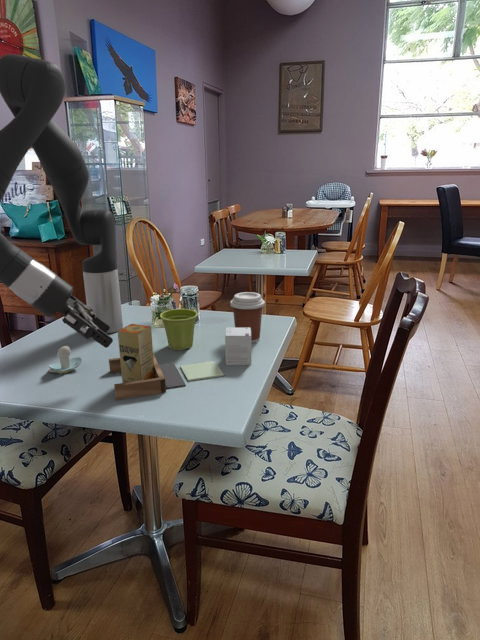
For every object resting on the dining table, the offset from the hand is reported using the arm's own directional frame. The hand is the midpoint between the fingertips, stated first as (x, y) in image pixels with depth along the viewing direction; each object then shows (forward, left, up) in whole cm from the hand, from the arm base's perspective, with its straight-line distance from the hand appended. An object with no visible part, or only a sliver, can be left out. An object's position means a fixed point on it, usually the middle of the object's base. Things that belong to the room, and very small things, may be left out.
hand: (108, 337), depth 100 cm
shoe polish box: (0, +5, -11) cm, 12 cm away
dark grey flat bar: (0, +12, -11) cm, 16 cm away
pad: (0, +19, -11) cm, 22 cm away
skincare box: (-4, +29, -11) cm, 32 cm away
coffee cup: (-17, +36, -11) cm, 41 cm away
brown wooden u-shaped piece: (0, +4, -11) cm, 12 cm away
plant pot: (-18, +18, -11) cm, 28 cm away
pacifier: (-12, -10, -11) cm, 19 cm away
